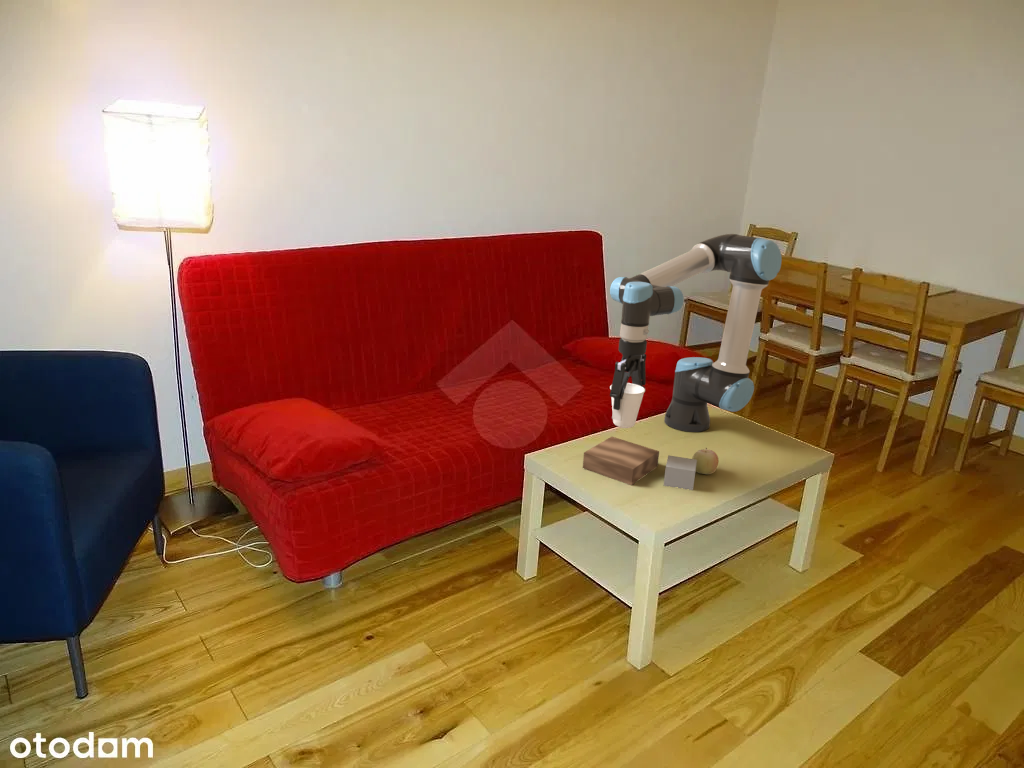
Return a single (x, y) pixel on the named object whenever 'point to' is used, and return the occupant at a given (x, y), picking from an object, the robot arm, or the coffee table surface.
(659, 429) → the coffee table surface
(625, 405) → the cup
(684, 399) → the robot arm
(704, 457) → the fruit
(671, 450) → the coffee table surface
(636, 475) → the walnut block
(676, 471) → the grey block
